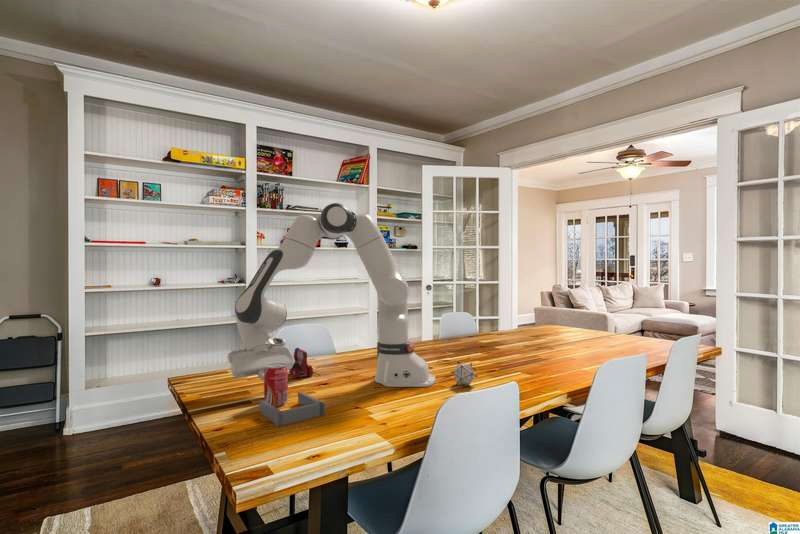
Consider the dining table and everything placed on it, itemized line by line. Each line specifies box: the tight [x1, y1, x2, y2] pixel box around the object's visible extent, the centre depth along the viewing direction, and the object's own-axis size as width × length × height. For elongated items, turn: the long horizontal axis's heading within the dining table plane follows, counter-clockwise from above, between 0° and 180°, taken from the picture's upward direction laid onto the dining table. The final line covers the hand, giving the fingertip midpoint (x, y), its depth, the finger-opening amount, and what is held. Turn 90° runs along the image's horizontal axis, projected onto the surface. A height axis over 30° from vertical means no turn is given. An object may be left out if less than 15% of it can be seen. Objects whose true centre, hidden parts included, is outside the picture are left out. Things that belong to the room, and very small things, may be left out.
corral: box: [258, 391, 326, 428], centre depth 126 cm, size 14×15×4 cm
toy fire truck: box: [288, 347, 314, 379], centre depth 168 cm, size 7×12×10 cm, turn 31°
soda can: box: [263, 363, 289, 407], centre depth 134 cm, size 7×7×12 cm
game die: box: [450, 361, 478, 388], centre depth 153 cm, size 9×8×10 cm
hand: (269, 382), depth 139 cm, fingers closed
